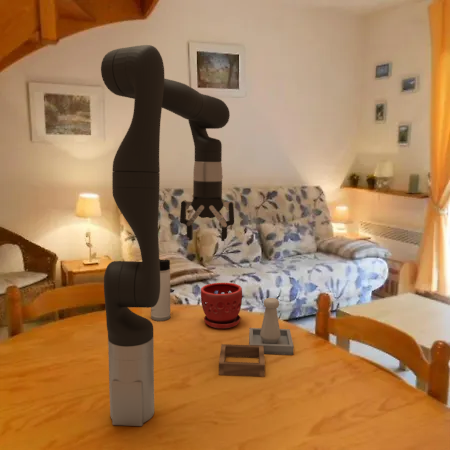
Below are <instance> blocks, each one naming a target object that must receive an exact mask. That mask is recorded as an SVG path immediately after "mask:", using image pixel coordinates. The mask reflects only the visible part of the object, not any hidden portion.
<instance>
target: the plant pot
mask: <svg viewBox="0 0 450 450" xmlns="http://www.w3.org/2000/svg"><path fill="white" fill-rule="evenodd" d="M215 292H217V293H215ZM229 292H230V293H229ZM200 300H201V301H200V302H201V308H202V311H203V313H204V315H205V316H204V317H203V318H204V319H203V320H204V322H205V324H206V325H208V326H209V327H212V328H214V329H229V328H233V327H236V326H238V325H239V323H241V319H242V318H241V316H240V315H239V314H240V312H241V309H242V301H243V287H241V285H239V284H236V283H232V282H213V283H208V284H206V285H204V286H202V287H201V288H200Z"/></svg>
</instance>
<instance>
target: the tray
mask: <svg viewBox="0 0 450 450" xmlns="http://www.w3.org/2000/svg"><path fill="white" fill-rule="evenodd" d="M248 328H249V330H248V331H249V336H248V337H249V344H248V345H259V346H263V347H264V355H279V356H280V355H285V356H286V355H287V356H294V342H293V338H292V333H291V329H290V328H280V334H281V335H280V339H279V341H278V343H277V344H264V343H263V342H262V339H261V337H260V332H261V327H248Z"/></svg>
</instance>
